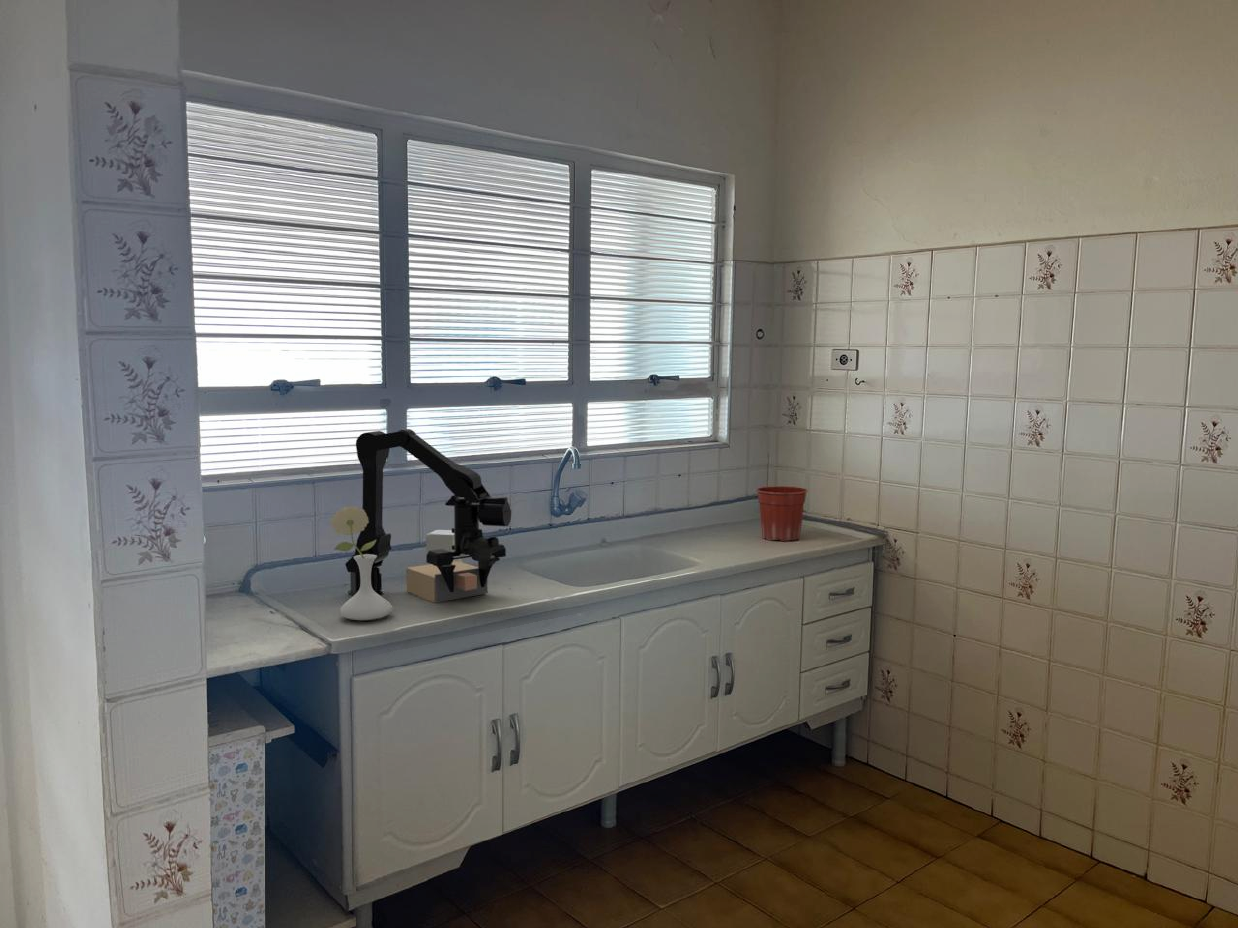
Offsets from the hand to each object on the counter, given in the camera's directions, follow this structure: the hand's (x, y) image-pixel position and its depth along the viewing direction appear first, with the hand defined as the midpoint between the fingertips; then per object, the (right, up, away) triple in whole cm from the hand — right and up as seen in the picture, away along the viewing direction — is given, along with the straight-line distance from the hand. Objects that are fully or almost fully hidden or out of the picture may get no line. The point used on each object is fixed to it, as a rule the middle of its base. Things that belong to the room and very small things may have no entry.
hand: (467, 589), depth 229 cm
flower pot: (+89, +5, +84) cm, 122 cm away
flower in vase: (-21, -4, -15) cm, 26 cm away
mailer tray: (-5, -2, +6) cm, 8 cm away
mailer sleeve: (-6, -2, +8) cm, 11 cm away
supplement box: (-9, -1, +22) cm, 24 cm away
